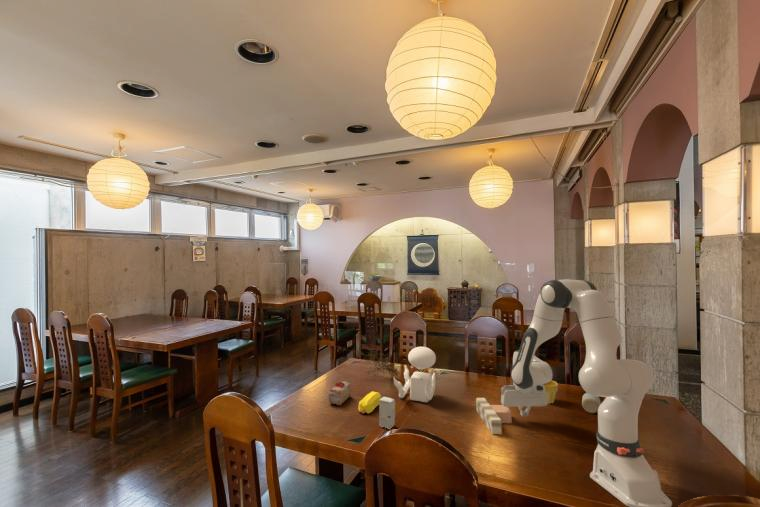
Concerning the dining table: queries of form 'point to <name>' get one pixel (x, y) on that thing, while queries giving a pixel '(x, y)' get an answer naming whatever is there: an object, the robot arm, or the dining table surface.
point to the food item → (339, 393)
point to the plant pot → (551, 391)
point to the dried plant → (376, 361)
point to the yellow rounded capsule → (369, 402)
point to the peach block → (502, 413)
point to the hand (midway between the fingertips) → (524, 415)
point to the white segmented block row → (488, 416)
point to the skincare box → (386, 412)
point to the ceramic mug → (590, 403)
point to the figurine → (419, 376)
